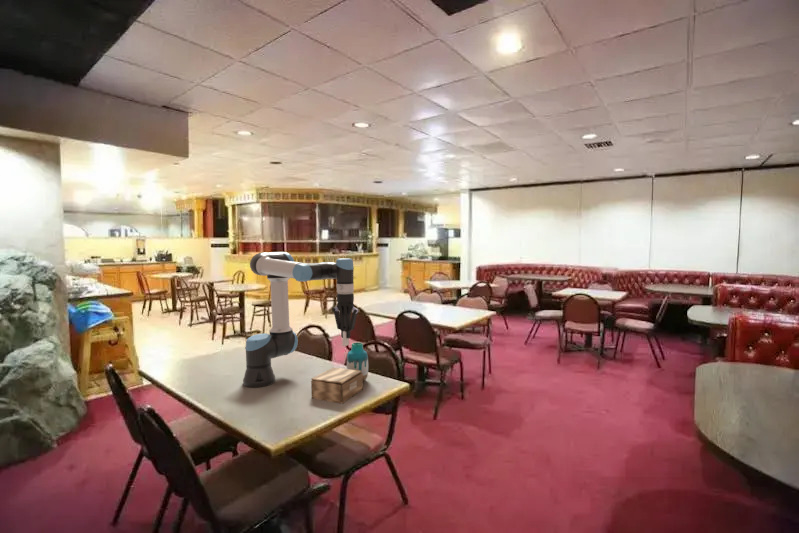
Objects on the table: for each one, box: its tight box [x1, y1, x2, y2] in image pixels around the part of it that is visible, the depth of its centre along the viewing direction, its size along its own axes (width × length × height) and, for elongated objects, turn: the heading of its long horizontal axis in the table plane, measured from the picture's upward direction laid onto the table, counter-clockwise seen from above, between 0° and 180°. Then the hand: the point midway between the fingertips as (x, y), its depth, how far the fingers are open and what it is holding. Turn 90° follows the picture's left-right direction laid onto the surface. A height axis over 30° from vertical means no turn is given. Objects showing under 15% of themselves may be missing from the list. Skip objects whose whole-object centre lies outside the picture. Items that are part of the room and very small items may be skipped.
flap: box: [311, 367, 362, 384], centre depth 184 cm, size 16×17×1 cm
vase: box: [346, 341, 369, 382], centre depth 200 cm, size 11×11×19 cm
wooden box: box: [310, 373, 364, 405], centre depth 184 cm, size 16×18×8 cm
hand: (345, 345), depth 181 cm, fingers closed
